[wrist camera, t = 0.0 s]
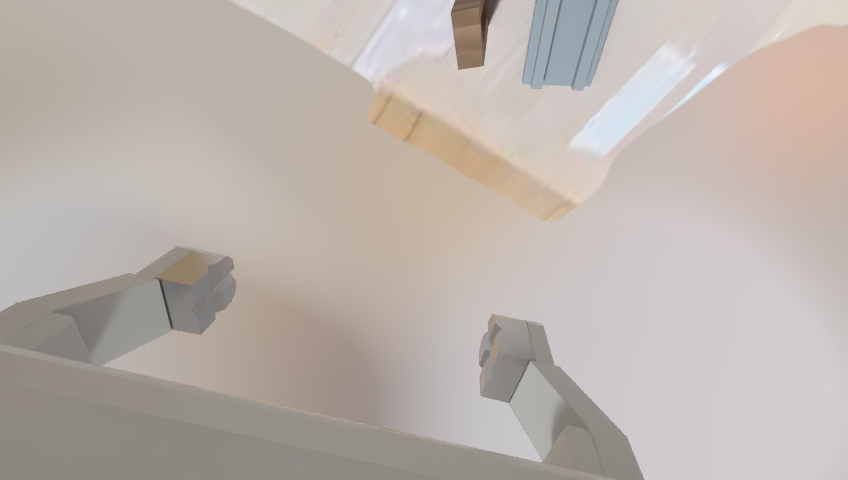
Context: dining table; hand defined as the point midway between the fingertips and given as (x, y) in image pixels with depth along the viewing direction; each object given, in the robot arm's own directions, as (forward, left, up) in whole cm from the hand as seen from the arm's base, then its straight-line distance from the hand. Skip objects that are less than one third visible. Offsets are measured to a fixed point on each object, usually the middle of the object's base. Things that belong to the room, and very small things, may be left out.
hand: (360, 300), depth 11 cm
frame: (+2, +4, -52) cm, 52 cm away
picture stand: (-8, +12, -52) cm, 54 cm away
